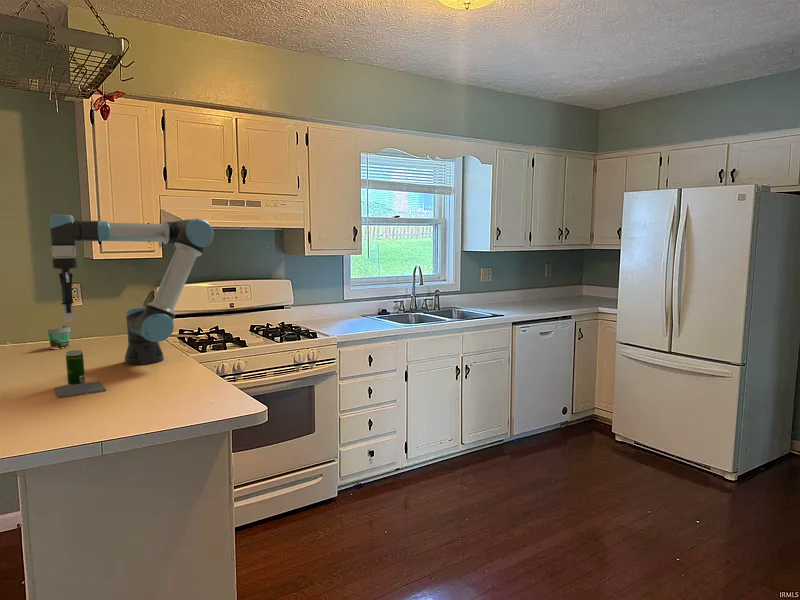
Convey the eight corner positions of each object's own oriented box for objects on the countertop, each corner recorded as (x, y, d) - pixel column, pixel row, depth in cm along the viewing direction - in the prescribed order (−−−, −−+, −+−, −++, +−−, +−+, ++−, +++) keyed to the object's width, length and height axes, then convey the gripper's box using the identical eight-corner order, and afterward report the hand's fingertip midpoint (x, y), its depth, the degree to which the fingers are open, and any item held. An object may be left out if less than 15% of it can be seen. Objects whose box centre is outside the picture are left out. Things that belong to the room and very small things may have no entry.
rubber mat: (54, 389, 195) (54, 387, 195) (99, 382, 203) (99, 381, 203) (58, 398, 184) (58, 396, 184) (105, 391, 192) (105, 389, 192)
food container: (61, 350, 264) (60, 329, 263) (49, 350, 264) (47, 329, 263) (77, 345, 276) (75, 325, 275) (65, 345, 276) (63, 325, 275)
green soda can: (88, 382, 204) (85, 349, 203) (79, 386, 199) (77, 353, 197) (73, 382, 204) (71, 350, 203) (64, 386, 199) (62, 353, 197)
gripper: (50, 257, 207) (55, 320, 209) (53, 258, 196) (58, 324, 199) (74, 256, 211) (78, 318, 214) (78, 257, 200) (82, 322, 203)
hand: (69, 321), depth 206 cm, fingers closed
